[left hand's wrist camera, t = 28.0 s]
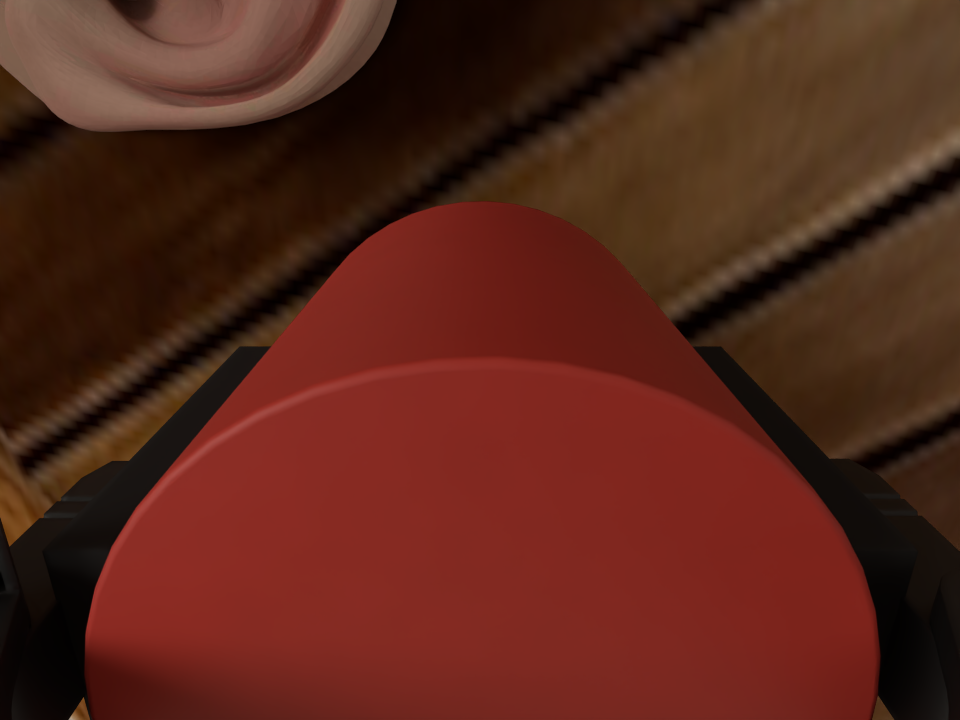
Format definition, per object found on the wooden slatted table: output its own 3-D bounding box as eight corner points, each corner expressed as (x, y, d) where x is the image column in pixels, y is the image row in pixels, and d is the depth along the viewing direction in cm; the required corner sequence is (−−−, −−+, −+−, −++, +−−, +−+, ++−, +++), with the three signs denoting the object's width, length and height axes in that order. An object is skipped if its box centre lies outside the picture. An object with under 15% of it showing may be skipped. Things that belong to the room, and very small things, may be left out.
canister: (231, 310, 15) (-101, 594, 6) (565, 127, 13) (710, 177, 5) (416, 576, 17) (355, 1029, 9) (712, 446, 16) (971, 835, 8)
